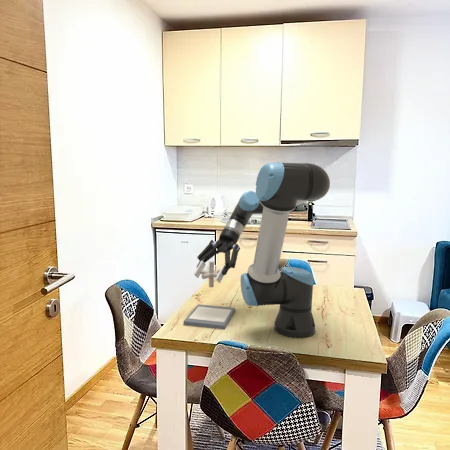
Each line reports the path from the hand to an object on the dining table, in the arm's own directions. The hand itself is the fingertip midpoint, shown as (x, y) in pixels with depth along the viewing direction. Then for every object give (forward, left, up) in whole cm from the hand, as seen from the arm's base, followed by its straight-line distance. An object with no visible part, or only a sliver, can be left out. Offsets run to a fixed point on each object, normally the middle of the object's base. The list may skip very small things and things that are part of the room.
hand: (206, 278), depth 165 cm
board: (+1, -3, -17) cm, 17 cm away
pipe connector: (+2, -3, -4) cm, 5 cm away
